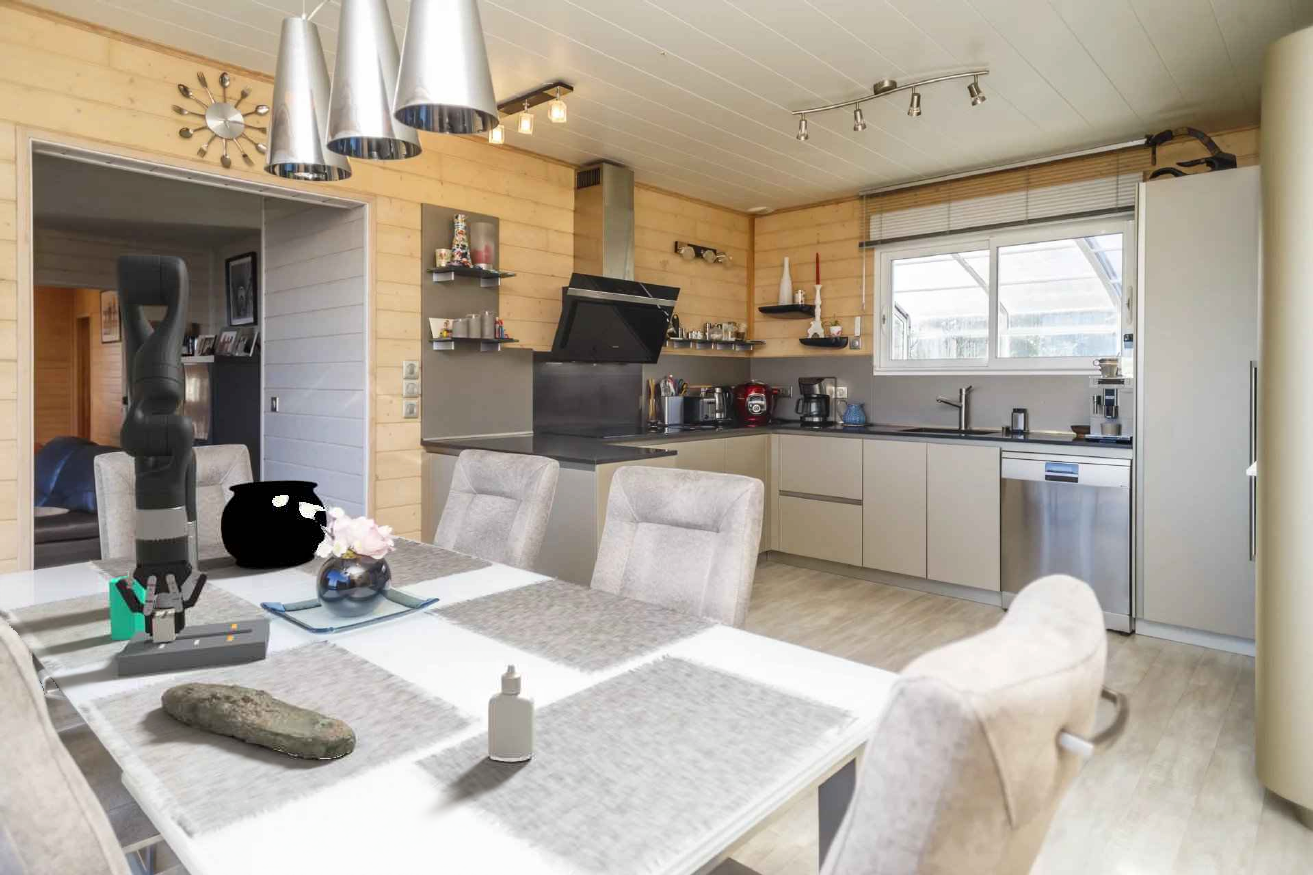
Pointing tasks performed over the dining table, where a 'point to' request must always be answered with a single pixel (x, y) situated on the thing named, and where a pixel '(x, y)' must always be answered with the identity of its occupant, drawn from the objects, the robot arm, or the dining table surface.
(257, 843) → the dining table surface
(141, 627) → the candle
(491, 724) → the eye dropper bottle
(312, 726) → the long grey stone
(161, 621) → the fader
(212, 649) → the fader console
